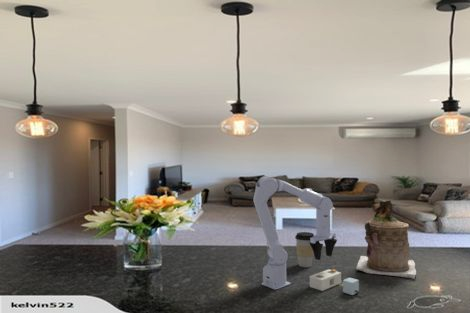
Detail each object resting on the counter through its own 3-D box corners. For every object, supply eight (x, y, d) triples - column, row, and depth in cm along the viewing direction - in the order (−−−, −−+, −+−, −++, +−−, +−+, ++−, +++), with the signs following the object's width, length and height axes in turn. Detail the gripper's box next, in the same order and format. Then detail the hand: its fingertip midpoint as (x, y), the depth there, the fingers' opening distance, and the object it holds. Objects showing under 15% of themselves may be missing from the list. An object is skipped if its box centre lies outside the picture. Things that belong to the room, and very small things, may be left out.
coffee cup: (292, 266, 172) (292, 234, 171) (298, 261, 180) (298, 230, 180) (312, 269, 167) (312, 236, 167) (317, 264, 175) (317, 232, 175)
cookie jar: (415, 263, 174) (414, 197, 174) (417, 280, 152) (416, 203, 152) (360, 258, 185) (360, 194, 184) (354, 272, 162) (354, 201, 162)
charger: (337, 290, 141) (337, 278, 141) (344, 287, 144) (344, 275, 144) (359, 297, 134) (359, 285, 134) (366, 294, 137) (366, 282, 137)
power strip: (309, 286, 146) (309, 274, 146) (335, 276, 158) (335, 265, 158) (322, 290, 142) (322, 278, 141) (348, 280, 153) (348, 268, 153)
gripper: (320, 229, 145) (320, 263, 145) (341, 224, 154) (341, 256, 154) (306, 226, 150) (306, 259, 150) (327, 221, 159) (327, 252, 159)
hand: (323, 257), depth 152 cm, fingers open, 7 cm apart
